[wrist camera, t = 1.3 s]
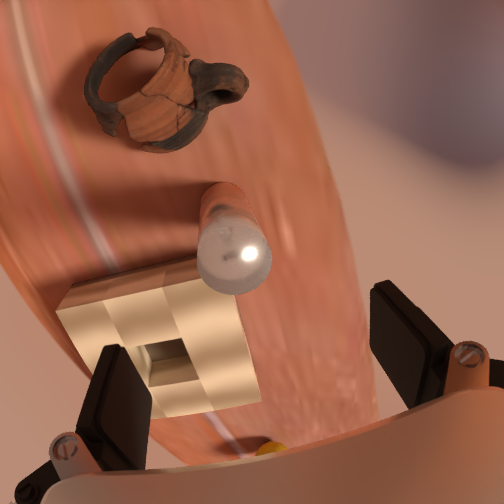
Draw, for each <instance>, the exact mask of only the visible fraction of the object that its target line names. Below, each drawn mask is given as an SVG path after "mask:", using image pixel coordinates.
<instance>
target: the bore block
mask: <svg viewBox="0 0 504 504" xmlns="http://www.w3.org/2000/svg"><path fill="white" fill-rule="evenodd" d="M56 313H57V315H58V317H59V319H60V321H61V323H62V324H63V326H64V328H65V330H66V332H67V333H68V335H69V337H70V339H71V340H72V342H73V344H74V346H75V347H76V349H77V351H78V352H79V354H80V356H81V357H82V359H83V360H84V362H85V364H86V365H87V367H88V368H89V370H90V372H91V373H92V375H93V373H94V370H95V368H96V365H97V362H98V360H99V357H100V354H101V351H102V349H103V347H104V346H105V345H111V344H119V345H120V346H121V347H122V346H123V347H125V349H126V350H127V352H128V354H129V356H130V358H131V360H132V361H133V363H134V365H135V367H136V369H137V371H138V372H139V374H140V376H141V378H142V379H143V381H144V383H145V385H146V386H147V388H148V390H149V391H150V393H151V396H152V401H153V402H152V410H151V418H150V419H158V418H167V417H175V416H182V415H189V414H196V413H202V412H208V411H214V410H220V409H225V408H230V407H235V406H240V405H245V404H250V403H255V402H259V401H262V400H261V395H260V390H259V385H258V380H257V376H256V371H255V367H254V363H253V360H252V356H251V353H250V349H249V345H248V342H247V338H246V335H245V331H244V327H243V324H242V320H241V316H240V312H239V309H238V305H237V301H236V297H235V295H228V294H223V293H220V292H217V291H215V290H213V289H212V288H210V287H209V286H208V285H207V284H206V283H205V282H204V281H203V280H202V278H201V276H200V274H199V272H198V268H197V254H195V255H191V256H187V257H183V258H179V259H175V260H170V261H166V262H162V263H158V264H154V265H150V266H146V267H141V268H137V269H133V270H129V271H125V272H121V273H117V274H113V275H109V276H105V277H101V278H97V279H93V280H89V281H85V282H81V283H77V284H73V285H72V287H71V288H70V289H69V291H68V292H67V294H66V295H65V297H64V298H63V300H62V301H61V303H60V304H59V306H58V307H57V309H56Z"/></svg>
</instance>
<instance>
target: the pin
mask: <svg viewBox="0 0 504 504" xmlns="http://www.w3.org/2000/svg"><path fill="white" fill-rule="evenodd" d="M271 265H272V253H271V249H270V247H269V245H268V243H267V241H266V238H265V236H264V234H263V232H262V230H261V228H260V226H259V224H258V222H257V220H256V218H255V216H254V214H253V212H252V210H251V208H250V206H249V203H248V201H247V199H246V197H245V195H244V193H243V192H242V190H241V189H240V188H239V187H237V186H236V185H234V184H232V183H228V182H220V183H216V184H214V185H212V186H210V187H209V188H208V189H207V190H206V191H205V192H204V194H203V196H202V199H201V206H200V220H199V235H198V251H197V268H198V272H199V274H200V276H201V278H202V280H203V281H204V282H205V283H206V284H207V285H208V286H209V287H210V288H212V289H213V290H215V291H217V292H220V293H223V294H228V295H238V294H243V293H247V292H249V291H252V290H253V289H255V288H257V287H258V286H259V285H260V284H261V283H262V282H263V281H264V280H265V279H266V277H267V276H268V274H269V272H270V269H271Z"/></svg>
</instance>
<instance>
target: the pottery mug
mask: <svg viewBox="0 0 504 504" xmlns="http://www.w3.org/2000/svg"><path fill="white" fill-rule="evenodd" d="M140 47H145V48H147V49H150V50H153V51H154V50H158V49H161V48H163V47H164V51H165V55H164V59H163V61H162V63H161V65H160V67H159V69H158V70H157V72H156V73H155V75H154V76H153V77H152V78H151V80H150V81H149V82H148V83H147V84H146V85H145V86H143V87H142V88H141V89H140V90H139V91H137V92H136V93H134V94H133V95H131V96H129V97H127V98H125V99H122V100H120V101H118V102H104V101H102V100H100V99H99V97H98V90H99V87H100V84H101V82H102V79H103V76H104V75H105V74H106V73H107V72H108V71H109V70H110V68H111V67H112V66H113V64H114V63H115V62H116V61H117V60H118V59H119V58H120V57H121V56H123V55H125V54H126V53H128V52H130V51H133V50H135V49H137V48H140ZM189 56H190V53H189V51H188V50H187V48H186V47H185V46H184V45H183V44H182V43H181V42H180V41H178V40H177V39H175V38H173V37H172V36H171V35H170V33H168V32H167V31H165V30H163V29H161V28H154V27H151V28H148V30H147V31H146V36H143V37H140V38H137V39H136V38H135V37H134V36H133V34H132V33H126V34H124V35H122V36H120V37H119V38H117V39H116V40H115V41H113V42H112V43H110V44H109V45H108V46H107V47H106V48H105V49H104V50H103V51H102V52H101V53H100V54H99V56H98V57H97V59H96V61H94V63H93V64H92V66H91V67H90V69H89V72H88V74H87V77H86V80H85V84H84V95H85V98H86V100H87V102H88V104H89V106H91V108H92V110H93V112H95V114H96V117H97V120H98V122H99V123H100V124H101V126H102V128H103V130H104V132H105V133H107V134H109V135H111V136H113V137H115V136H116V135H117V132H116V129H115V128H116V127H117V125H118V123H119V122H120V121H121V120H122V119H123V118H125V122H126V126H127V130H128V133H129V136H130V138H131V139H134V140H135V141H137V142H140V143H141V142H147V141H149V143H150V144H151V145H145V144H144V145H142V147H141V149H142V150H143V151H146V152H152V153H168V152H173V151H175V150H179V149H181V148H183V147H184V146H186V145H188V144H189V143H190V142H192V141H193V140H194V139H195V138H196V137H197V136H198V135H199V134H200V133H201V131H202V129H203V127H204V126H205V124H206V122H207V119H208V114H209V111H211V110H213V109H214V108H215V107H218V106H220V105H223V104H229V103H234V102H237V101H239V100H240V99H242V97H243V96H244V94H245V93H246V91H247V89H248V88H249V80H248V78H247V77H246V76H245V75H244V73H243V72H242V70H241V69H240V68H238V67H236V66H234V65H231V64H226V63H212V64H209V63H205V62H204V61H202V60H200V59H193V60H192V61H191V62H190V64H189V66H188V64H187V62H186V61H185V59H184V58H187V57H189ZM194 98H195V108H190V107H187V105H188V104H190V103H191V102H192V101H193V100H194Z"/></svg>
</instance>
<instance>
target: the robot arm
mask: <svg viewBox="0 0 504 504" xmlns="http://www.w3.org/2000/svg"><path fill="white" fill-rule="evenodd" d="M370 348H371V351H372V352H373V354H374V355H375V357H376V359H377V360H378V362H379V363H380V365H381V366H382V368H383V369H384V371H385V372H386V374H387V376H388V377H389V379H390V380H391V382H392V383H393V385H394V387H395V388H396V390H397V391H398V393H399V395H400V396H401V398H402V400H403V401H404V403H405V404H406V406H407V408H408V409H409V410H407V411H404V412H402V413H400V414H397V415H394V416H392V417H389V418H386V419H384V420H381V421H378V422H376V423H373V424H370V425H368V426H365V427H362V428H359V429H356V430H353V431H350V432H347V433H344V434H341V435H338V436H334V437H331V438H328V439H324V440H321V441H317V442H314V443H310V444H307V445H303V446H299V447H295V448H291V449H287V450H283V451H278V452H274V453H269V454H264V455H260V456H254V457H249V458H244V459H238V460H232V461H226V462H219V463H212V464H204V465H196V466H187V467H176V468H164V469H148V470H145V464H146V453H147V444H148V435H149V426H150V418H151V410H152V402H153V401H152V396H151V393H150V391H149V390H148V388H147V386H146V385H145V383H144V381H143V379H142V378H141V376H140V374H139V372H138V371H137V369H136V367H135V365H134V363H133V361H132V360H131V358H130V356H129V354H128V352H127V350H126V349H125V347H123V346H122V347H121V346H120V345H119V344H111V345H105V346H104V347H103V349H102V351H101V354H100V357H99V360H98V362H97V365H96V368H95V370H94V373H93V376H92V379H91V382H90V385H89V388H88V391H87V393H86V397H85V399H84V403H83V406H82V409H81V412H80V415H79V418H78V422H77V425H76V431H75V433H74V432H65V433H62V434H60V435H58V436H57V437H56V438H55V439H54V440H53V441H52V443H51V445H50V447H49V455H50V459H51V460H49V461H48V462H46V463H45V464H44V465H42V466H41V467H40V468H38V469H37V470H35V471H34V472H33V473H31V474H30V475H29V476H27V477H26V478H25V479H23V480H22V481H21V482H20V483H18V485H17V487H16V489H15V500H16V502H15V503H13V502H10V504H504V361H502V360H495V359H489V353H488V351H487V349H486V348H485V347H484V346H482V345H481V344H479V343H477V342H474V341H463V342H459V343H458V344H456V345H454V344H453V343H452V342H451V340H449V338H448V337H447V336H446V335H445V334H444V333H443V332H442V331H441V330H440V329H439V328H438V327H437V326H436V325H435V323H433V321H432V320H431V319H430V318H429V317H428V316H427V315H426V314H425V313H424V312H423V311H422V310H421V309H420V308H418V307H417V306H415V305H414V304H413V303H412V302H411V301H410V300H409V299H408V298H407V297H406V296H405V295H404V294H403V293H402V292H401V291H400V290H399V289H398V288H397V287H396V286H395V285H394V284H393V283H392V282H391V281H390V280H385V281H382V282H379V283H376V284H375V285H374V288H372V289H371V290H370Z"/></svg>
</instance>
